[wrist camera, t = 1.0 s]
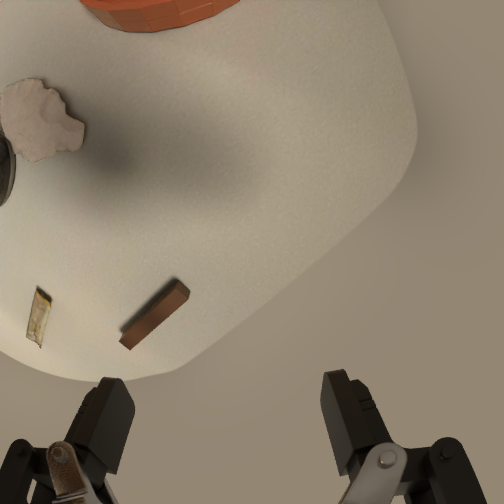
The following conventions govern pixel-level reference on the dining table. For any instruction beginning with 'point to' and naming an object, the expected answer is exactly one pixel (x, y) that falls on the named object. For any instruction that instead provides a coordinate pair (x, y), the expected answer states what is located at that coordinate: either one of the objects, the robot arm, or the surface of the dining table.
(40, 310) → the snack bar
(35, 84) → the stone tool
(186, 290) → the brown wooden bar
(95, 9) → the mixing bowl
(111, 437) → the robot arm
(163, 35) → the dining table surface
